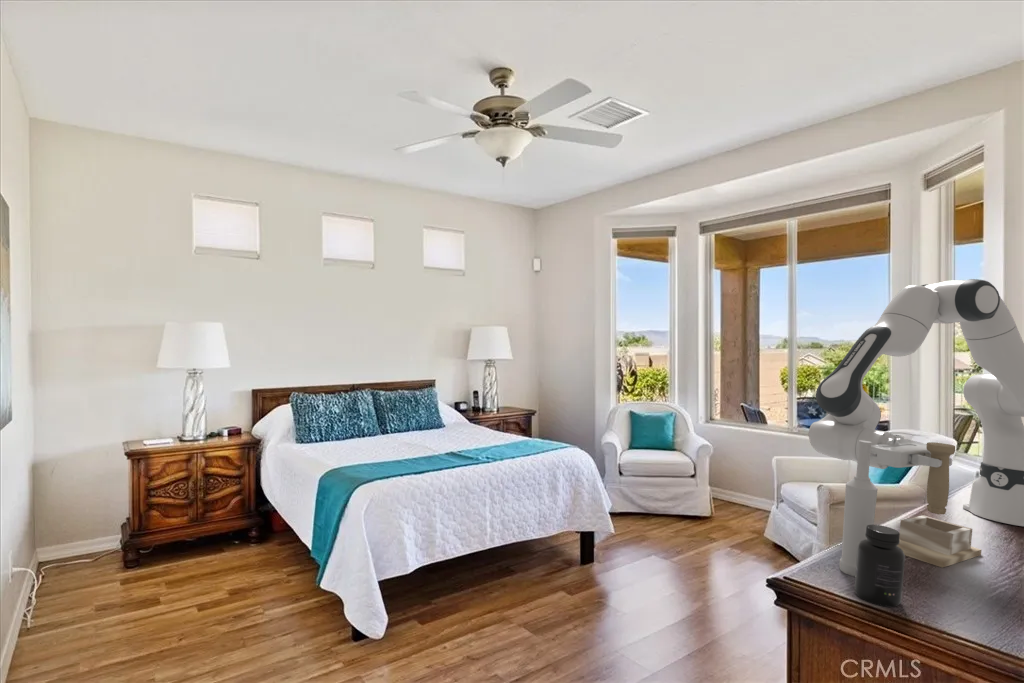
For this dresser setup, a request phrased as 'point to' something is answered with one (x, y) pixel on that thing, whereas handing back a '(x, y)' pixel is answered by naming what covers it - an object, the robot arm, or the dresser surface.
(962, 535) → the tool holder
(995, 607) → the dresser surface
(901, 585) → the supplement bottle
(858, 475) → the bottle
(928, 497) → the handle
